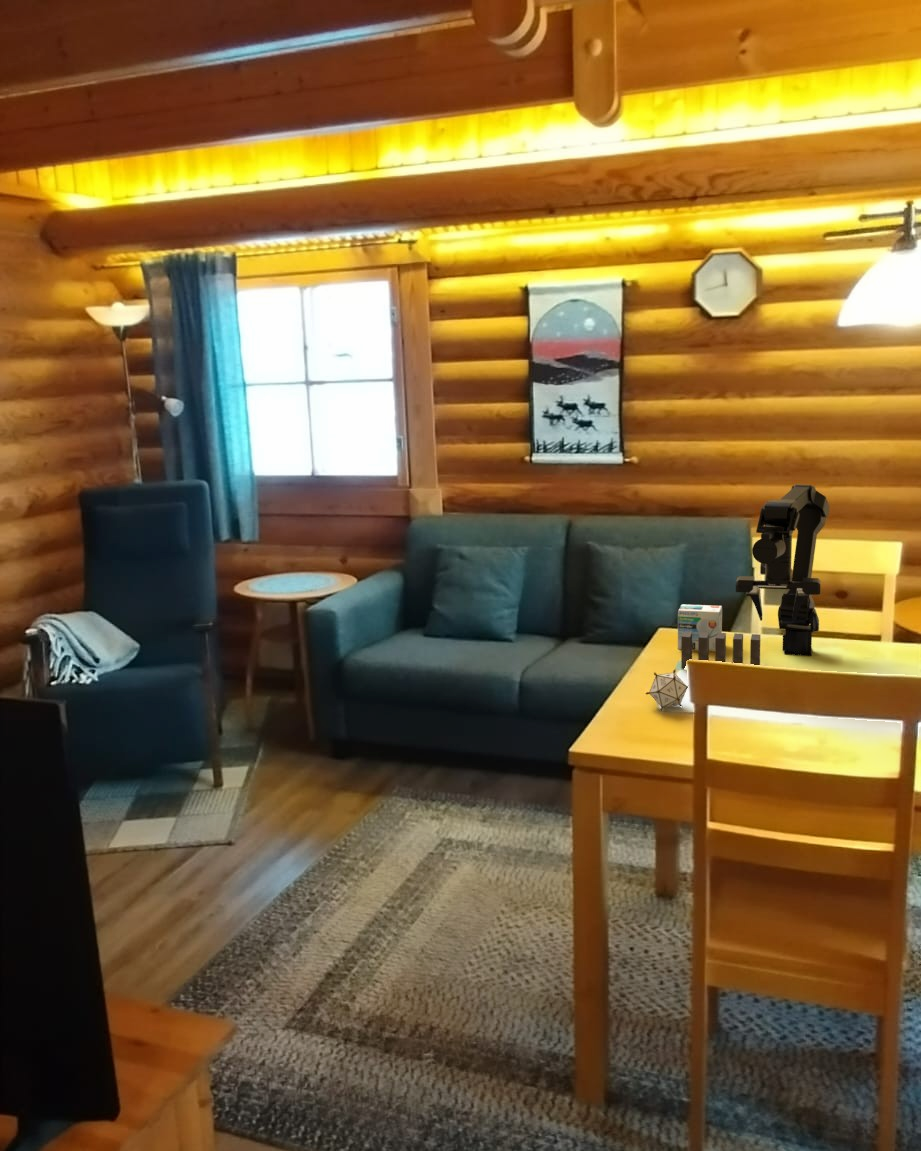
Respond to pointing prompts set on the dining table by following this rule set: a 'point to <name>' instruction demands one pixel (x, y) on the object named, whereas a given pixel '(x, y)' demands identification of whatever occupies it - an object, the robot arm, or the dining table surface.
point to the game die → (668, 690)
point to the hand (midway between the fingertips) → (777, 620)
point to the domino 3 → (720, 647)
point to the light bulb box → (699, 623)
